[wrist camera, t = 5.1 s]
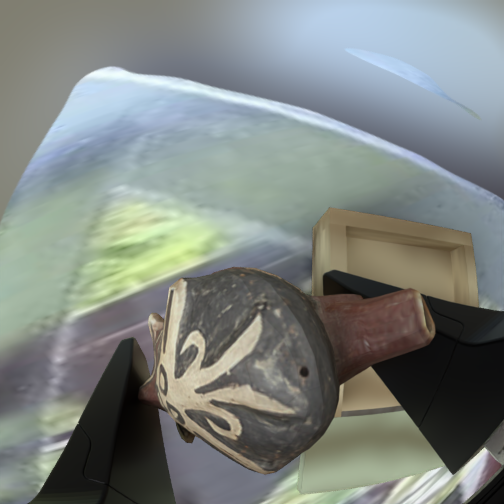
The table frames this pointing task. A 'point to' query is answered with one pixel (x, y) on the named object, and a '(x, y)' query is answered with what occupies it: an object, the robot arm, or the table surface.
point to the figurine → (269, 359)
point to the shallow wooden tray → (368, 382)
